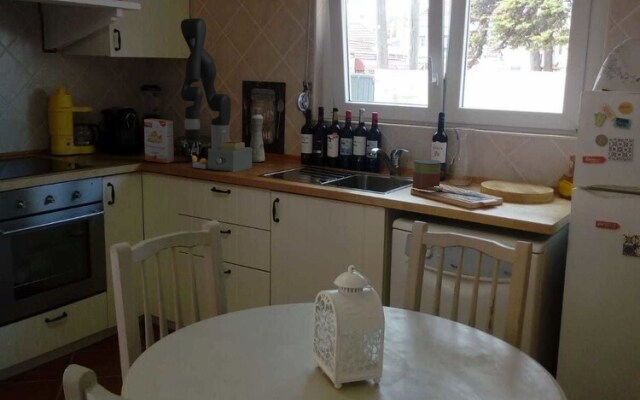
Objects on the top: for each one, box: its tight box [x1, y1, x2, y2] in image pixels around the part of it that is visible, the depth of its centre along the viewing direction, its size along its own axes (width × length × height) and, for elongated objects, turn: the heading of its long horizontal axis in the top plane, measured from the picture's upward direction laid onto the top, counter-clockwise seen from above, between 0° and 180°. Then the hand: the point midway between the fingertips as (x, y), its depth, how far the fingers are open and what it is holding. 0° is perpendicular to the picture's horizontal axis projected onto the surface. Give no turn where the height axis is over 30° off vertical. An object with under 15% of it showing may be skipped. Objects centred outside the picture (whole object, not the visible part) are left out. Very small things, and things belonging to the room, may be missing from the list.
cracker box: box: [143, 118, 175, 164], centre depth 329 cm, size 14×6×21 cm, turn 62°
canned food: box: [411, 158, 442, 189], centre depth 275 cm, size 11×11×12 cm
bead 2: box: [198, 158, 208, 164], centre depth 314 cm, size 4×4×4 cm
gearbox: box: [207, 140, 253, 174], centre depth 311 cm, size 18×14×12 cm
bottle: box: [249, 106, 266, 163], centre depth 336 cm, size 9×9×28 cm
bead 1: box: [191, 154, 197, 164], centre depth 327 cm, size 4×4×4 cm
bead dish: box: [192, 161, 208, 170], centre depth 314 cm, size 7×7×2 cm
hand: (192, 162), depth 328 cm, fingers closed on bead 1, 4 cm apart
